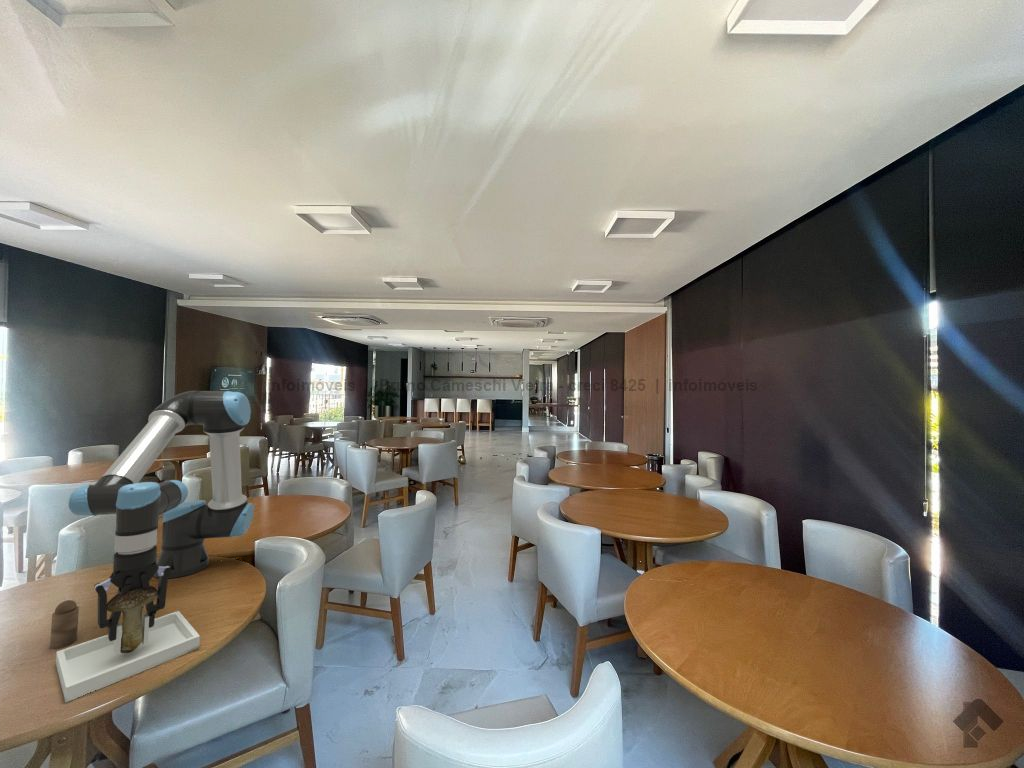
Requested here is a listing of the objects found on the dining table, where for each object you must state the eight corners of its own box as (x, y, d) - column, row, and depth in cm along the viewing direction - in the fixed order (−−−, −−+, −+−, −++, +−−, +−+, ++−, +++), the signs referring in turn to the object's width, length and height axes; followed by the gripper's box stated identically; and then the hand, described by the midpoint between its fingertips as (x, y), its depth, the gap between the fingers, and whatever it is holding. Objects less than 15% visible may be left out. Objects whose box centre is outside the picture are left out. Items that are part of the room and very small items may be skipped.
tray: (178, 621, 107) (178, 610, 108) (199, 648, 97) (199, 635, 97) (55, 664, 90) (56, 651, 90) (65, 703, 79) (66, 687, 79)
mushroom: (115, 669, 87) (119, 601, 88) (93, 659, 90) (97, 593, 91) (164, 644, 96) (168, 583, 97) (143, 636, 99) (147, 576, 100)
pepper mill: (75, 635, 100) (78, 594, 101) (78, 642, 98) (80, 600, 98) (49, 644, 97) (51, 601, 97) (51, 651, 94) (53, 607, 95)
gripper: (177, 535, 103) (172, 624, 102) (81, 555, 89) (75, 659, 89) (185, 542, 99) (181, 635, 98) (86, 564, 85) (80, 674, 84)
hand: (130, 646), depth 93 cm, fingers closed on mushroom, 4 cm apart
